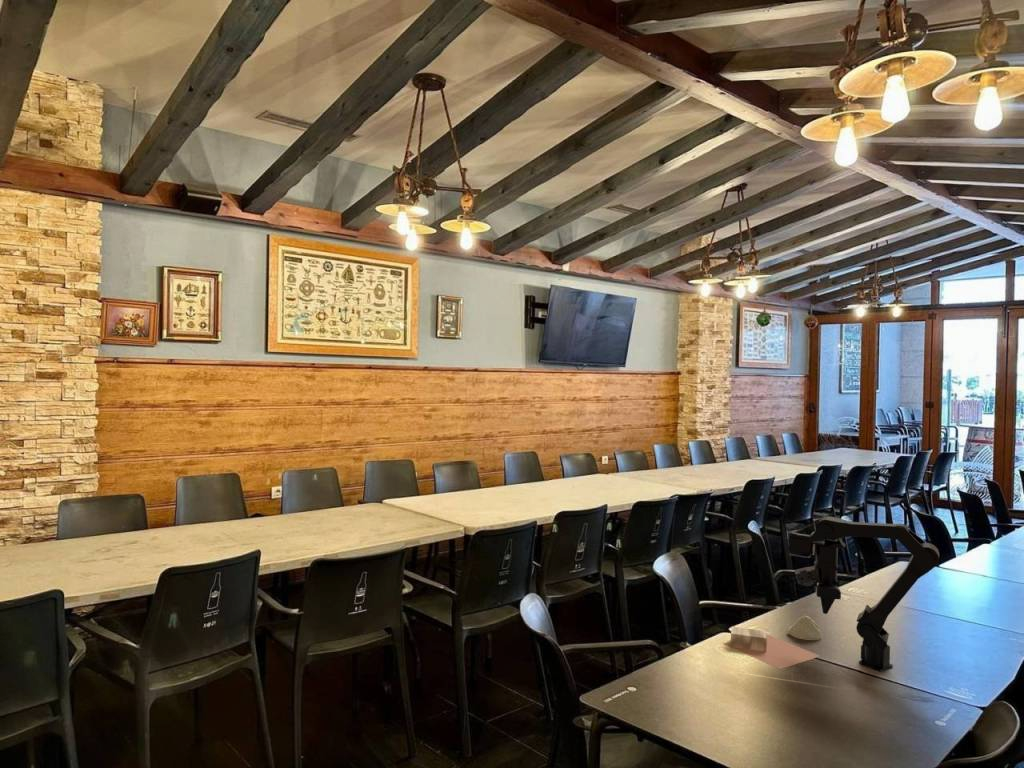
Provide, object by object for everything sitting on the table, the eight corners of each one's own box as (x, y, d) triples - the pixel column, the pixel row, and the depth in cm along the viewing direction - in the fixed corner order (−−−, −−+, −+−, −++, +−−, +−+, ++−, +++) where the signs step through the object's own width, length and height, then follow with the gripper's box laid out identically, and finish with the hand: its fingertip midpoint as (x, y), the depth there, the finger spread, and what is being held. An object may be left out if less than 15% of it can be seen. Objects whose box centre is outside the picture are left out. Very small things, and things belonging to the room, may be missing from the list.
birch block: (766, 631, 206) (731, 626, 209) (766, 638, 200) (730, 633, 204) (766, 644, 206) (731, 639, 210) (766, 651, 200) (730, 646, 204)
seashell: (829, 636, 209) (807, 624, 208) (810, 653, 212) (789, 641, 211) (821, 617, 216) (800, 605, 215) (803, 634, 219) (782, 622, 219)
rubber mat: (820, 657, 198) (820, 656, 198) (780, 670, 189) (780, 669, 189) (763, 634, 215) (763, 633, 215) (723, 645, 206) (723, 643, 206)
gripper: (795, 549, 212) (793, 599, 212) (798, 565, 194) (796, 620, 194) (834, 553, 208) (833, 604, 208) (842, 570, 190) (840, 625, 191)
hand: (824, 613), depth 200 cm, fingers closed
